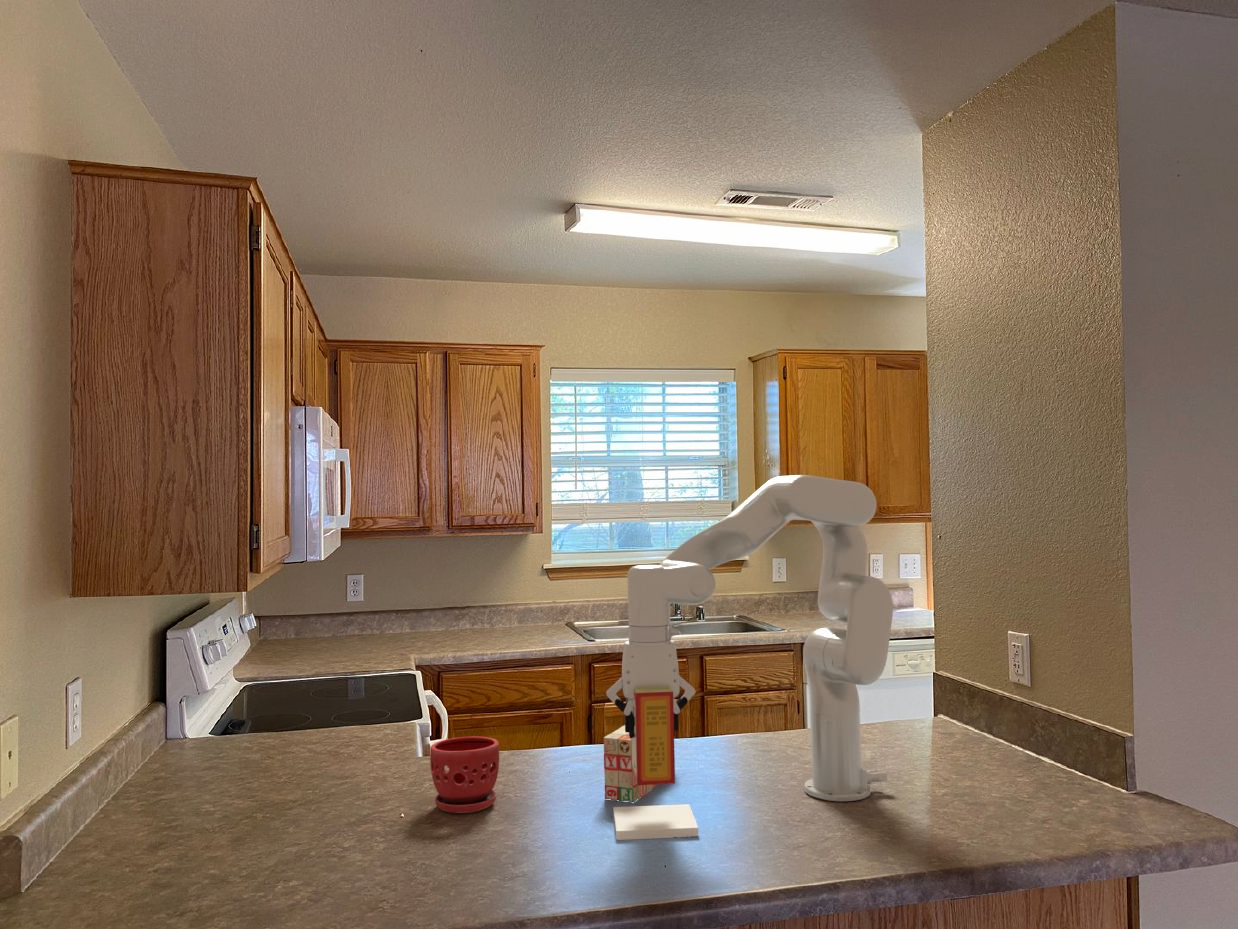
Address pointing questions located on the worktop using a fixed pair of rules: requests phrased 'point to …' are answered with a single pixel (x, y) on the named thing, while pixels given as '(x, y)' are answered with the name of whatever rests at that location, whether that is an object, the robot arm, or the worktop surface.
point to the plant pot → (465, 773)
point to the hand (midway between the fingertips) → (651, 735)
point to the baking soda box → (653, 737)
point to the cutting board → (654, 822)
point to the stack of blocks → (620, 769)
